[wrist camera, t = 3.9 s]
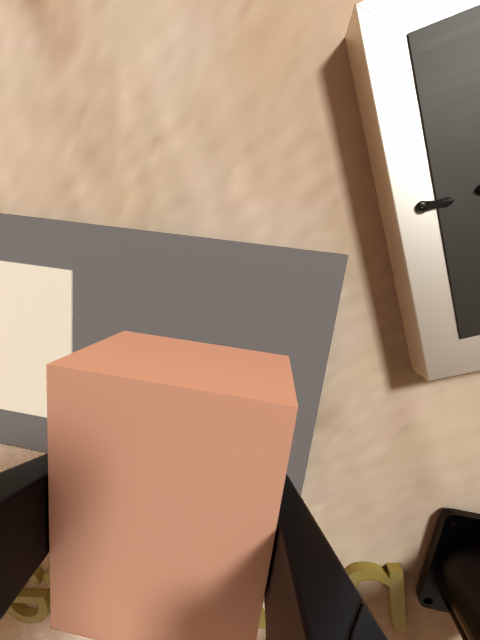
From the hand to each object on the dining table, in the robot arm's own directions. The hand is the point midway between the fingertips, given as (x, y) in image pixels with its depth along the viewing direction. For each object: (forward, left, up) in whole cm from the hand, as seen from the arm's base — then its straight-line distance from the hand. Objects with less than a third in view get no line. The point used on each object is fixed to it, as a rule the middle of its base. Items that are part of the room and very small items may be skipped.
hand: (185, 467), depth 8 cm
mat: (0, +7, -8) cm, 10 cm away
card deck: (0, 0, -1) cm, 1 cm away
